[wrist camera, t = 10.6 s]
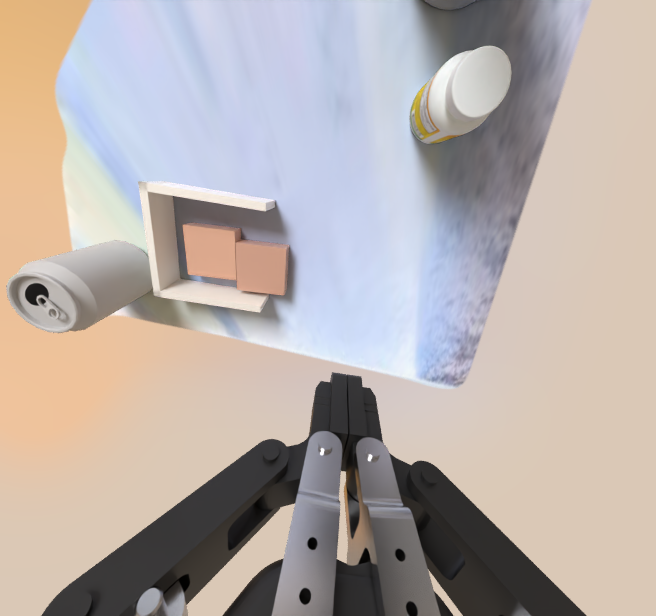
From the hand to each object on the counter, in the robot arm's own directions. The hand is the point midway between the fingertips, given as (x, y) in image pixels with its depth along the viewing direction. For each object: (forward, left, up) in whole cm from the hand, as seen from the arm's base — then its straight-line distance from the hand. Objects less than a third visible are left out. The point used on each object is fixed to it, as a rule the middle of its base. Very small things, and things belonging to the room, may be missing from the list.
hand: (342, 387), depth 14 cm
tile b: (+2, -10, -23) cm, 25 cm away
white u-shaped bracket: (0, -15, -23) cm, 27 cm away
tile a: (+1, -16, -23) cm, 28 cm away
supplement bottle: (-17, +7, -23) cm, 29 cm away
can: (+5, -27, -23) cm, 36 cm away
